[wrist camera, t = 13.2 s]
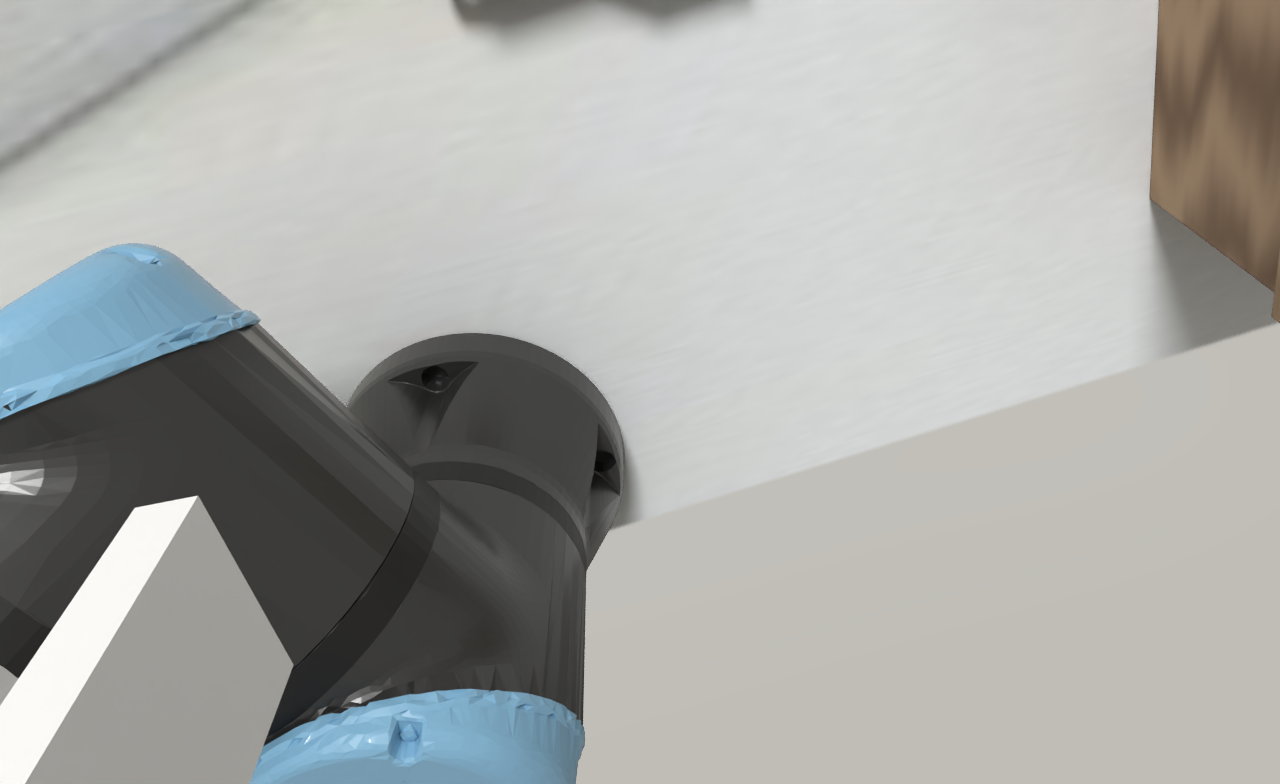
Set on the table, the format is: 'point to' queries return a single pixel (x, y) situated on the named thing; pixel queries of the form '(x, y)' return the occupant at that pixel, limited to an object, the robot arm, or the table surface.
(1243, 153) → the riser
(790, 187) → the table surface
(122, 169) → the table surface
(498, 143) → the table surface
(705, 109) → the table surface
